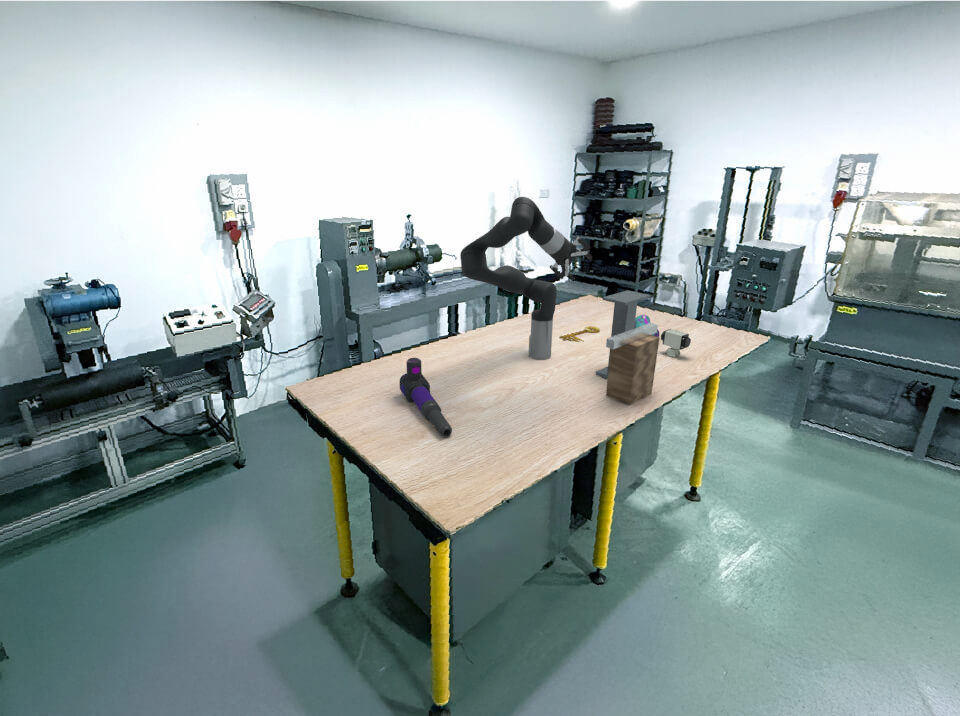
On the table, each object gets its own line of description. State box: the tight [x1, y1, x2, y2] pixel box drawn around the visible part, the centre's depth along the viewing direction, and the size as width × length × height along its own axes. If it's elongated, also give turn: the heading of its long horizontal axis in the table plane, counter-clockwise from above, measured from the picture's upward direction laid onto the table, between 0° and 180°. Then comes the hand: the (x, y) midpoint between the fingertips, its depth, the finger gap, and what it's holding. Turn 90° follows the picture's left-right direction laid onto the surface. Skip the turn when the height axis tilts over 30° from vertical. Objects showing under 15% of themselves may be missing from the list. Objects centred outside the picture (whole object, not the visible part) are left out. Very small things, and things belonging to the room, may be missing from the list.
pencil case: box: [634, 314, 661, 337], centre depth 236 cm, size 21×9×10 cm, turn 176°
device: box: [399, 357, 453, 438], centre depth 165 cm, size 9×36×15 cm, turn 25°
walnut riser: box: [605, 335, 661, 406], centre depth 177 cm, size 14×10×22 cm
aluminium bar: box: [605, 322, 659, 350], centre depth 171 cm, size 26×3×3 cm, turn 130°
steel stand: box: [595, 290, 651, 380], centre depth 192 cm, size 16×10×32 cm, turn 130°
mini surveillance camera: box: [660, 328, 692, 359], centre depth 214 cm, size 6×12×12 cm, turn 38°
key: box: [559, 325, 601, 343], centre depth 241 cm, size 11×25×2 cm, turn 131°
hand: (581, 268), depth 169 cm, fingers open, 8 cm apart
